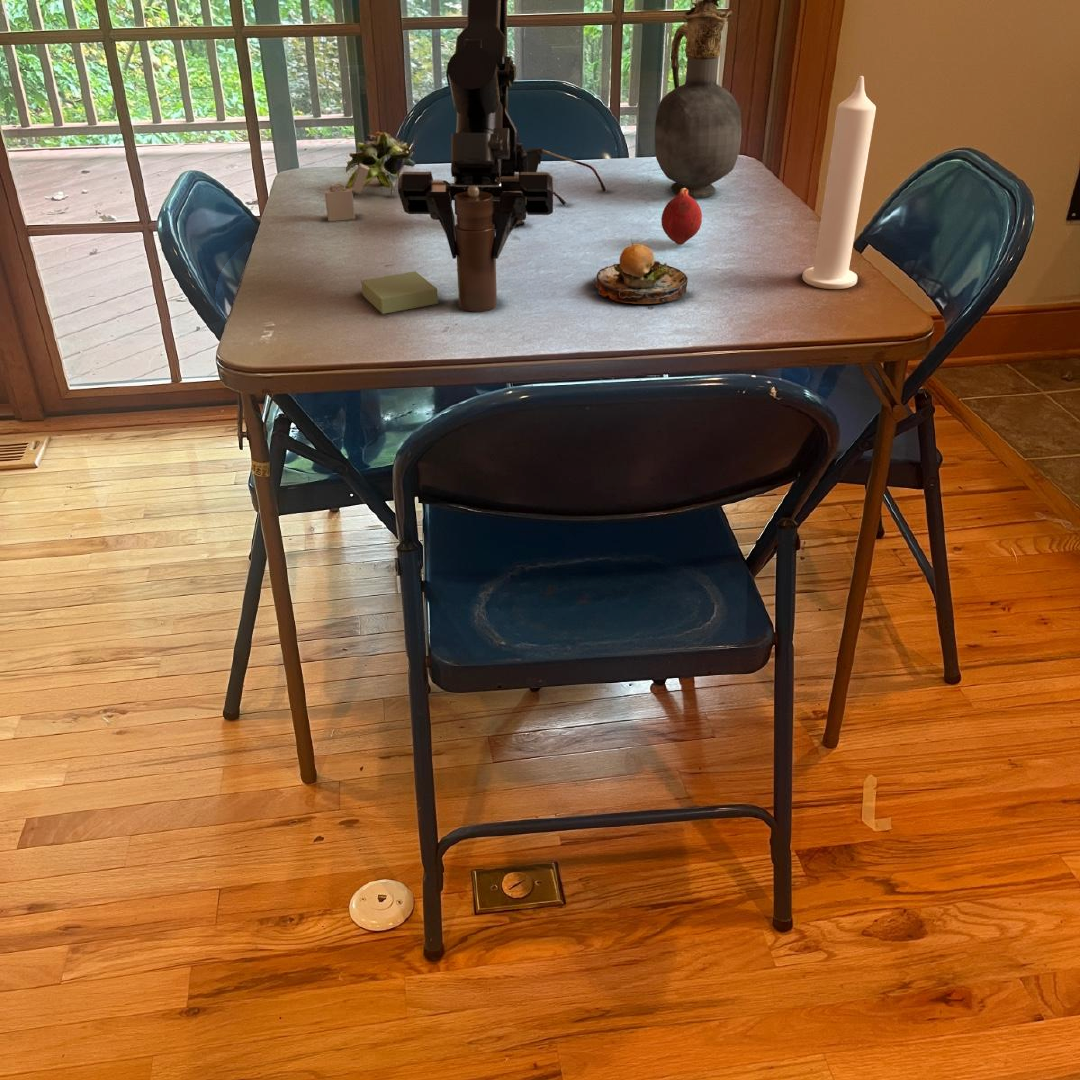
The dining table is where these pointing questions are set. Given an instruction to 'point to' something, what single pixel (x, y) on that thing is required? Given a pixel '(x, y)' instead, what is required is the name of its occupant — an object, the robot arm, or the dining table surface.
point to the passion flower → (381, 159)
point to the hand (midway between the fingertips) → (474, 257)
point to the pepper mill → (475, 250)
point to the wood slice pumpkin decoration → (641, 278)
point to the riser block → (399, 292)
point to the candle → (843, 192)
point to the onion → (681, 218)
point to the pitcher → (698, 109)
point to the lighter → (344, 197)
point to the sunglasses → (536, 153)
